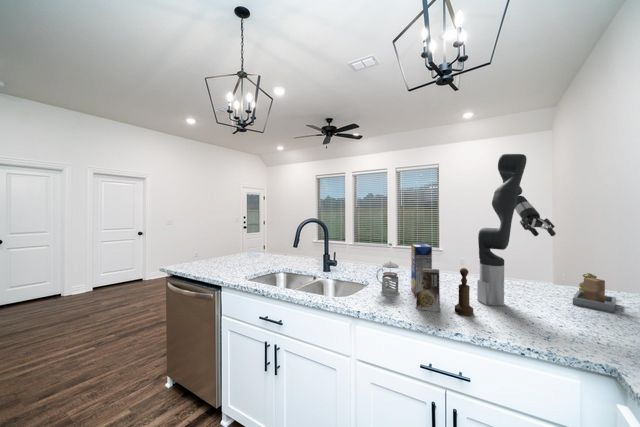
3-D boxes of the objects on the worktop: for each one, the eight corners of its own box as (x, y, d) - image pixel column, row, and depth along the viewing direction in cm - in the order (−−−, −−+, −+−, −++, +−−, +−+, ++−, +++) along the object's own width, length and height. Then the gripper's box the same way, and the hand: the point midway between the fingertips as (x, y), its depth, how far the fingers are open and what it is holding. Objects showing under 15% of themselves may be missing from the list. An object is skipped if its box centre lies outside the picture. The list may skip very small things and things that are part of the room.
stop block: (594, 304, 112) (594, 280, 112) (583, 300, 117) (583, 278, 117) (604, 303, 112) (604, 280, 112) (593, 300, 117) (593, 277, 117)
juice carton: (411, 289, 137) (411, 243, 137) (426, 290, 136) (426, 243, 135) (415, 296, 125) (415, 246, 125) (431, 297, 124) (431, 247, 124)
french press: (403, 296, 126) (403, 244, 126) (378, 296, 126) (378, 244, 126) (397, 290, 136) (397, 241, 135) (374, 290, 136) (374, 241, 136)
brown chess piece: (471, 311, 108) (471, 267, 107) (475, 317, 102) (475, 270, 101) (453, 309, 110) (453, 266, 110) (456, 314, 104) (456, 269, 103)
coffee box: (439, 306, 112) (439, 269, 112) (439, 312, 107) (439, 272, 106) (417, 303, 116) (417, 267, 116) (415, 308, 110) (415, 270, 110)
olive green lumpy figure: (590, 291, 132) (590, 272, 132) (605, 296, 125) (605, 275, 125) (574, 291, 133) (574, 271, 133) (588, 296, 126) (588, 275, 125)
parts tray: (614, 312, 105) (614, 305, 105) (572, 304, 114) (572, 297, 114) (615, 304, 115) (616, 297, 115) (577, 297, 124) (577, 290, 124)
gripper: (517, 207, 139) (536, 230, 128) (544, 207, 139) (564, 230, 128) (510, 216, 144) (527, 240, 133) (535, 216, 145) (554, 239, 133)
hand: (545, 235), depth 131 cm, fingers open, 8 cm apart
